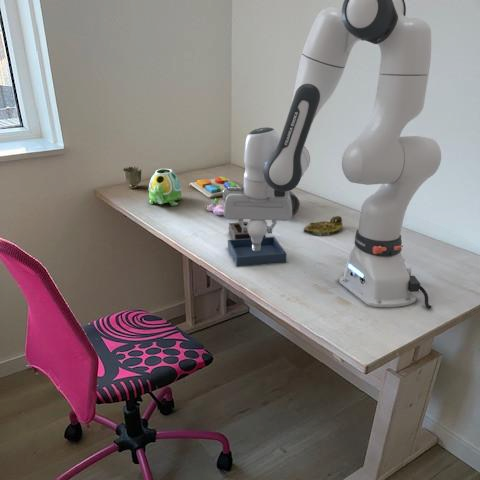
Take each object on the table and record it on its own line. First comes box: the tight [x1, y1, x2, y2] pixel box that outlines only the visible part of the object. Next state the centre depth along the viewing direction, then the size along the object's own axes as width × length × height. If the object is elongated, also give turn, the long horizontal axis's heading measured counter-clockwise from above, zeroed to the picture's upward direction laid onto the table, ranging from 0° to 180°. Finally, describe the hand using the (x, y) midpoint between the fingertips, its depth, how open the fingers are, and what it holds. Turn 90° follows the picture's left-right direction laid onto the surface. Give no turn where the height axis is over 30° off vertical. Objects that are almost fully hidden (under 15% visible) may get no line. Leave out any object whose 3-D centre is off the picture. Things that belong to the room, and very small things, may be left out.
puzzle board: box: [188, 175, 241, 199], centre depth 209 cm, size 18×19×4 cm
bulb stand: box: [228, 221, 266, 240], centre depth 166 cm, size 10×10×4 cm
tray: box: [227, 236, 287, 267], centre depth 155 cm, size 13×15×3 cm
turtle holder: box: [148, 168, 182, 207], centre depth 191 cm, size 12×18×12 cm
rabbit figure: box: [205, 197, 224, 216], centre depth 184 cm, size 6×6×15 cm
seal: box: [303, 215, 344, 236], centre depth 173 cm, size 9×5×15 cm
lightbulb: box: [247, 219, 269, 252], centre depth 152 cm, size 6×6×11 cm
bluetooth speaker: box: [289, 190, 301, 217], centre depth 188 cm, size 23×9×10 cm, turn 22°
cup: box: [122, 166, 142, 190], centre depth 208 cm, size 8×7×8 cm
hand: (257, 232), depth 152 cm, fingers closed on lightbulb, 6 cm apart
